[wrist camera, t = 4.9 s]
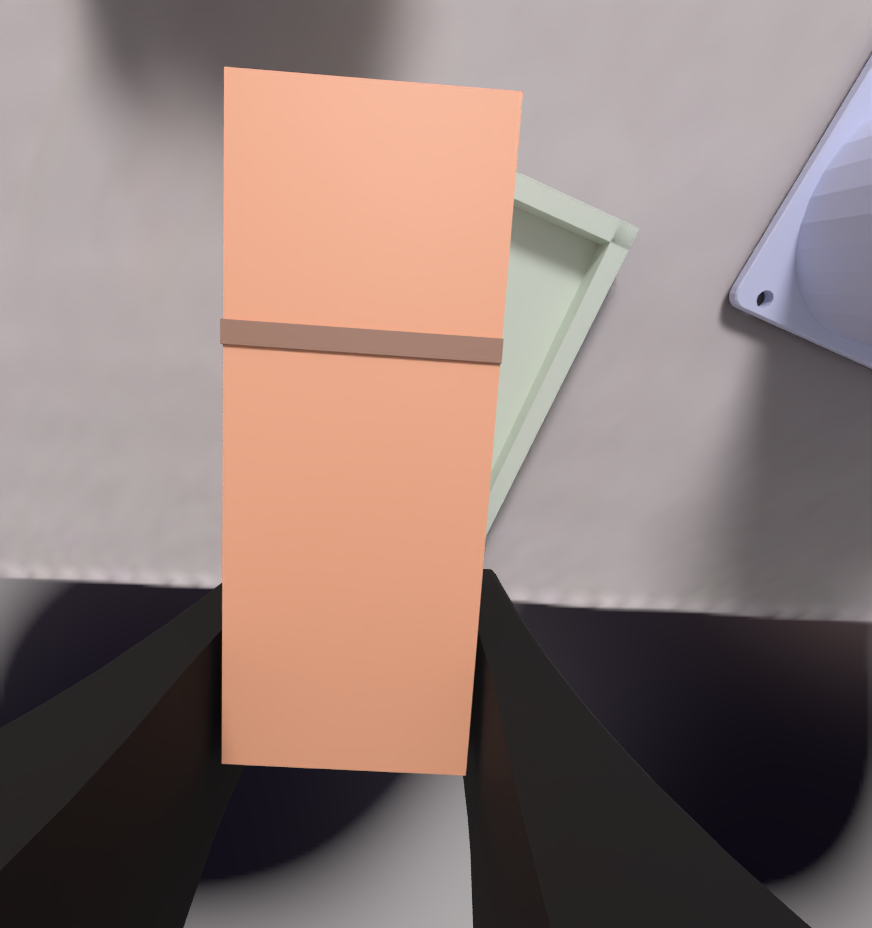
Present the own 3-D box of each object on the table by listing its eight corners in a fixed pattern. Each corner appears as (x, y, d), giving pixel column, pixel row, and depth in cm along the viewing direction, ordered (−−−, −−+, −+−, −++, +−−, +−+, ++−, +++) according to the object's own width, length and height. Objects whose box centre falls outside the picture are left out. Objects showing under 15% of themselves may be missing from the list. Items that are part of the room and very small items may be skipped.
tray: (619, 233, 14) (639, 228, 12) (462, 557, 19) (464, 579, 17) (388, 128, 13) (382, 109, 11) (286, 500, 18) (273, 519, 16)
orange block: (477, 247, 10) (525, 88, 5) (450, 613, 11) (466, 778, 6) (326, 235, 10) (221, 63, 5) (314, 605, 11) (219, 766, 6)
